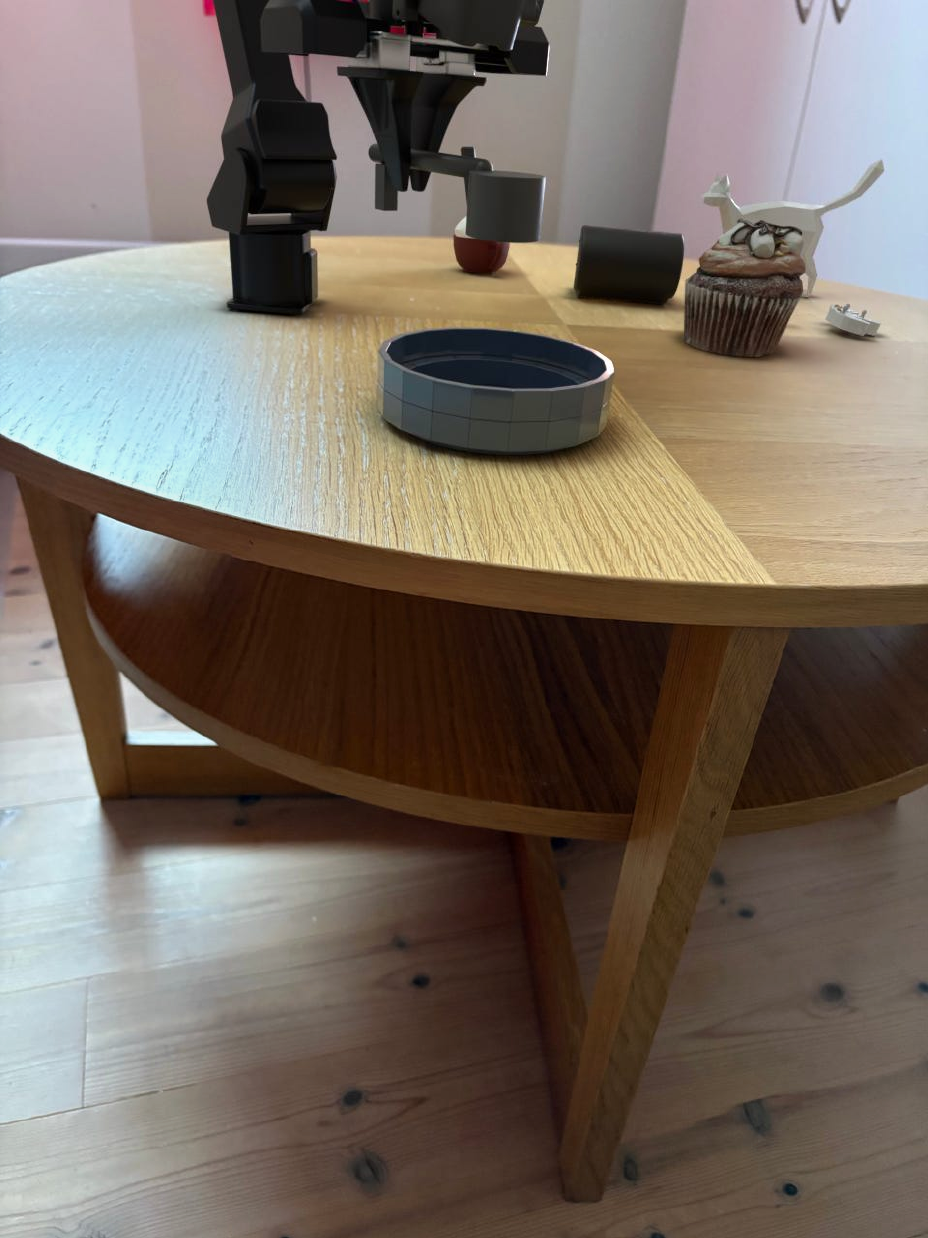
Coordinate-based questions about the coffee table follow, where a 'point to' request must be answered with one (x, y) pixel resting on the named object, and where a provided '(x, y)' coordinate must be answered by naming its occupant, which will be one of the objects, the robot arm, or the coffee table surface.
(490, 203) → the ladle
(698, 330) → the cupcake
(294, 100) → the robot arm
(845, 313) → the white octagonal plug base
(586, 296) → the end cap
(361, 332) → the coffee table surface
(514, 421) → the bowl
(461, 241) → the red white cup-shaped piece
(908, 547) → the coffee table surface
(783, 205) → the cat figurine
